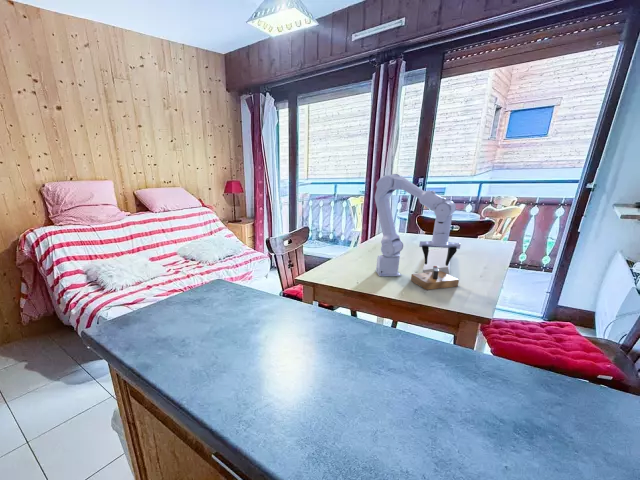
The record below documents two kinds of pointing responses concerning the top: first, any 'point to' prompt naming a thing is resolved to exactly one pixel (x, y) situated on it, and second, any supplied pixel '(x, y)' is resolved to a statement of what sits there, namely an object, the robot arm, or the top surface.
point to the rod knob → (435, 272)
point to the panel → (434, 280)
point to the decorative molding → (437, 261)
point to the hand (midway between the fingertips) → (436, 264)
